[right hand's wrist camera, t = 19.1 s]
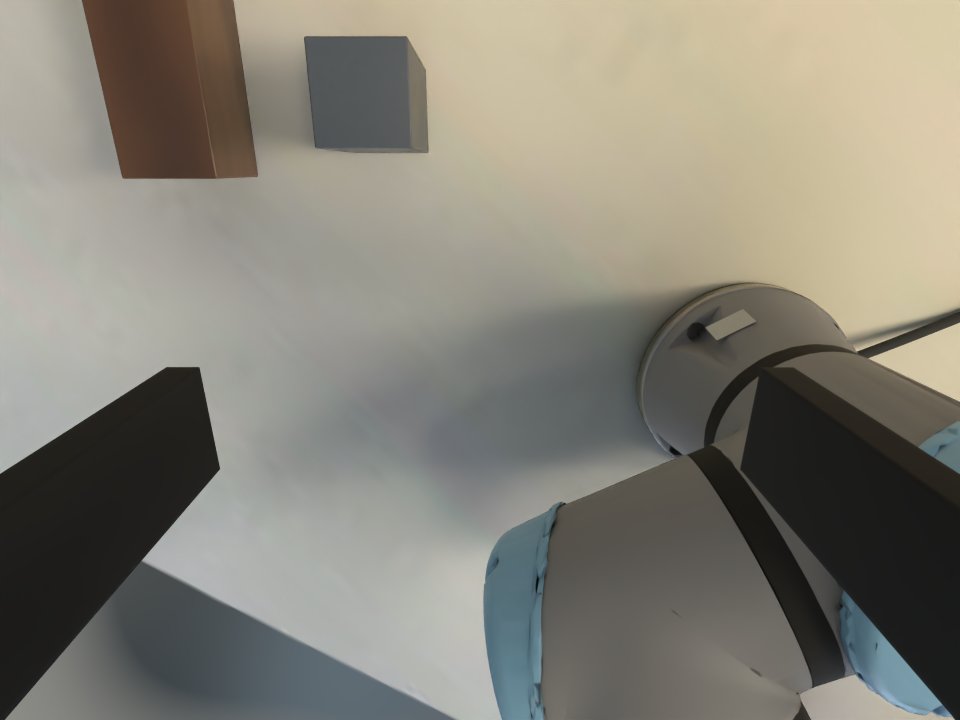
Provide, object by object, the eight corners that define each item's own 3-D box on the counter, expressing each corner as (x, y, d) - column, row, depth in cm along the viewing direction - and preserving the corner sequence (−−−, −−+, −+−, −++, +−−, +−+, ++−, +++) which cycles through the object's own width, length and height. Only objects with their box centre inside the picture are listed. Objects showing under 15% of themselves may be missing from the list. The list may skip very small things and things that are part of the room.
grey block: (425, 69, 33) (407, 35, 25) (428, 152, 35) (412, 148, 27) (348, 69, 33) (303, 36, 25) (354, 152, 35) (315, 148, 27)
